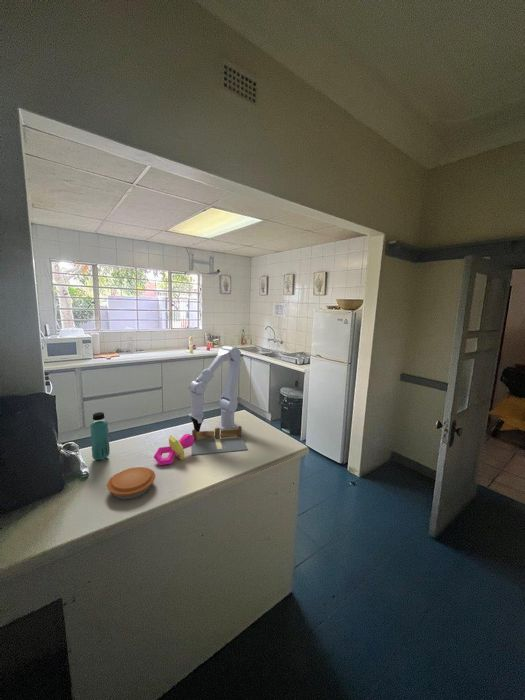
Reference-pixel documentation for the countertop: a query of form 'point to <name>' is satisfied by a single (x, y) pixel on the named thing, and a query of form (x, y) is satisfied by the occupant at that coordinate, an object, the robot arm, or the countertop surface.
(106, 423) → the beverage bottle
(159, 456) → the toy
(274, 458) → the countertop surface
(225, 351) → the robot arm
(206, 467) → the countertop surface
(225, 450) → the card
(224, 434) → the fence fixed
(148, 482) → the pie
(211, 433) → the fence hinged
